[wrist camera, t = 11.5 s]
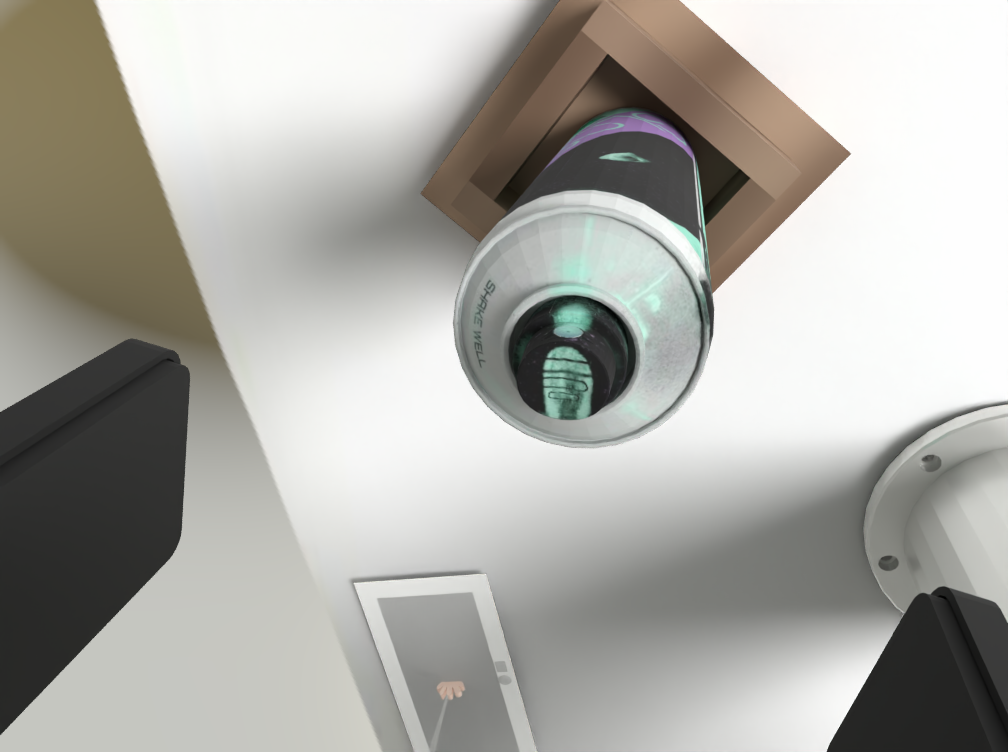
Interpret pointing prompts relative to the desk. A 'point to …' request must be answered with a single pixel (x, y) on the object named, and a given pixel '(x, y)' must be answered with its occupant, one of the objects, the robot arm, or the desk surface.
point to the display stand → (651, 85)
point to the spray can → (593, 289)
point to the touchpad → (447, 663)
